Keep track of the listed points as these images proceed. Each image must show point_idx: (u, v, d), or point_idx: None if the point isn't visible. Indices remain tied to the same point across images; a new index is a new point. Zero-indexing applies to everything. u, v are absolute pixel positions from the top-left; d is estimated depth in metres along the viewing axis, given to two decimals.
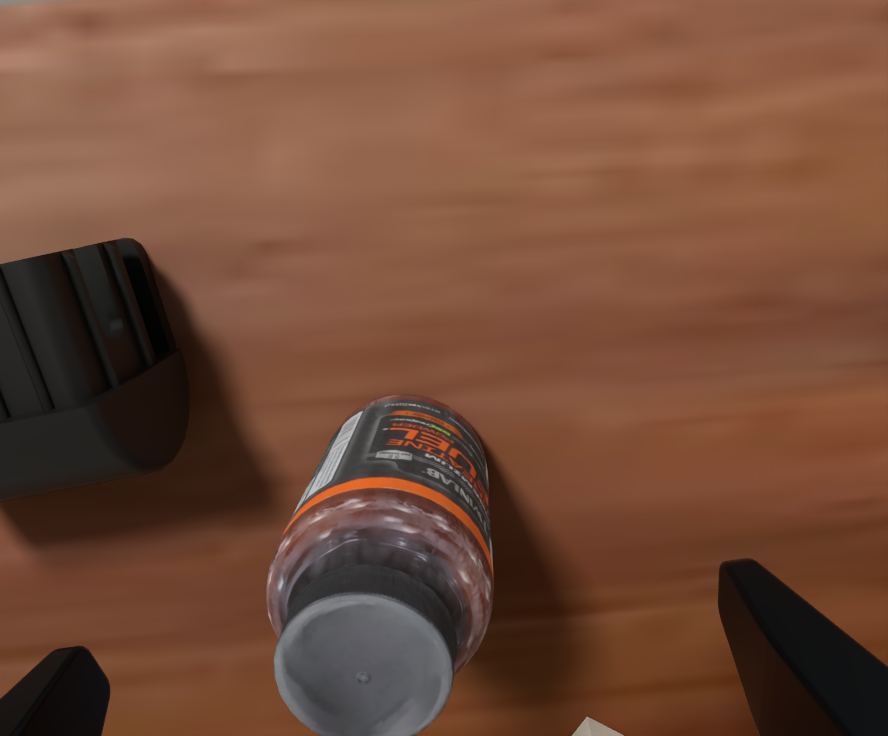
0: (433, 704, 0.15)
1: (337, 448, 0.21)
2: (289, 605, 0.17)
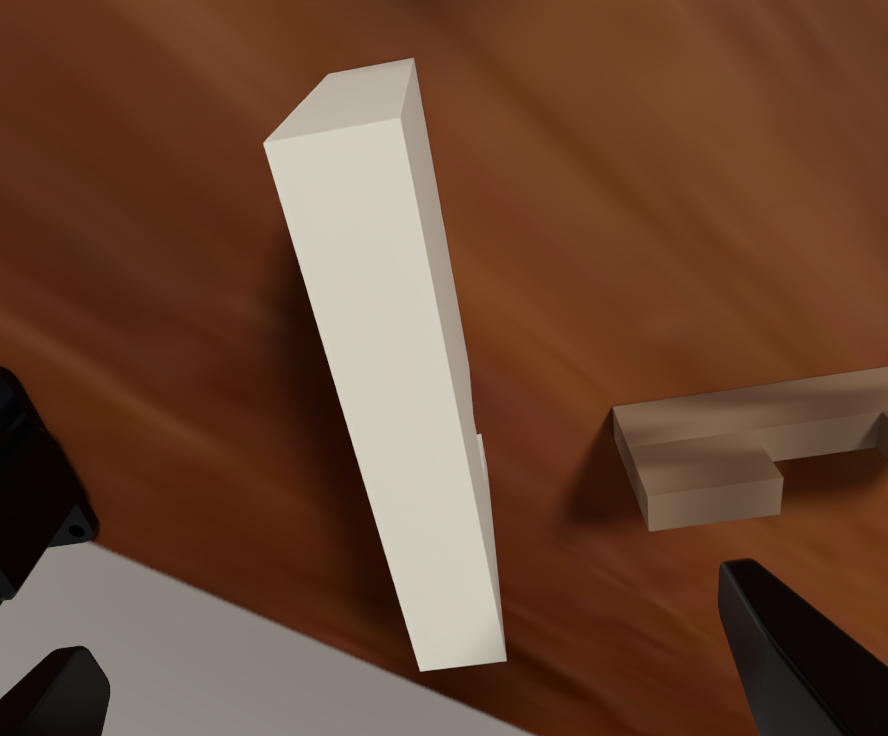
0: None
1: None
2: None
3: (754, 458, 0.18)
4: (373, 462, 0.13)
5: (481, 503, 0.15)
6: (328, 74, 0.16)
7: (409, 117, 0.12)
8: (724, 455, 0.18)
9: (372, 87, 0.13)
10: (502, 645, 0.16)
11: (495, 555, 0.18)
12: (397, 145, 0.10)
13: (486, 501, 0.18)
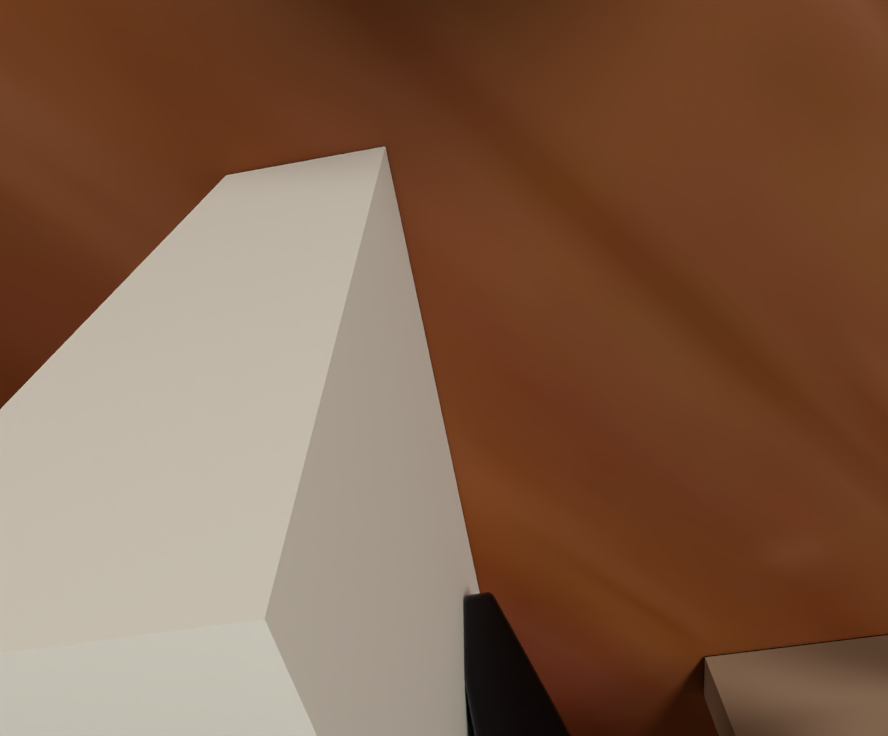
0: None
1: None
2: None
3: None
4: None
5: None
6: (225, 177, 0.08)
7: (347, 400, 0.04)
8: None
9: (274, 263, 0.05)
10: None
11: None
12: (264, 688, 0.03)
13: None
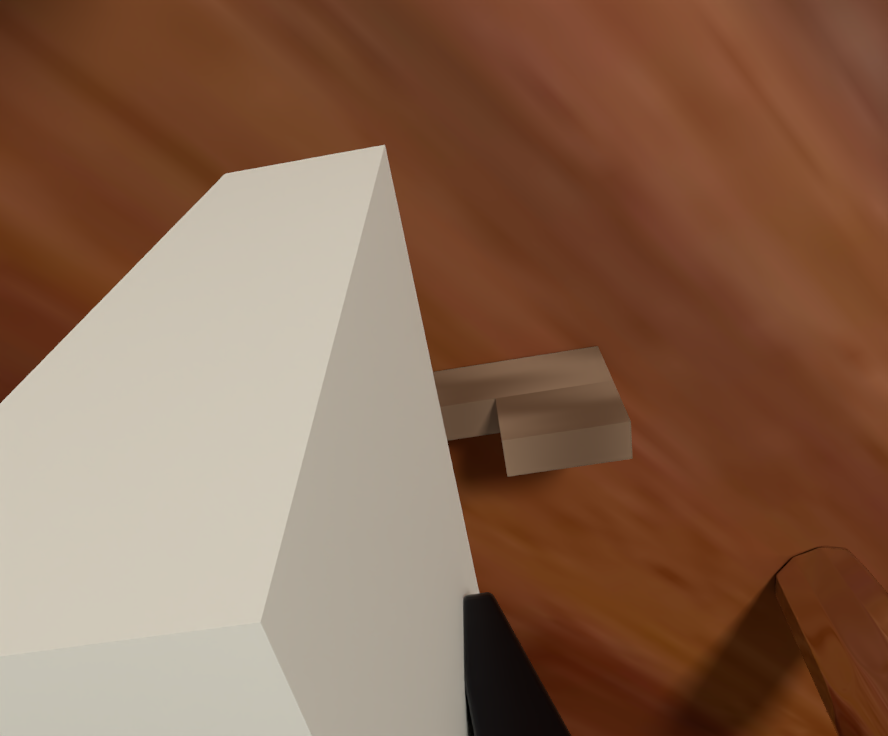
0: None
1: None
2: None
3: None
4: None
5: None
6: (224, 175, 0.08)
7: (346, 400, 0.04)
8: None
9: (272, 262, 0.05)
10: None
11: None
12: (261, 691, 0.03)
13: None
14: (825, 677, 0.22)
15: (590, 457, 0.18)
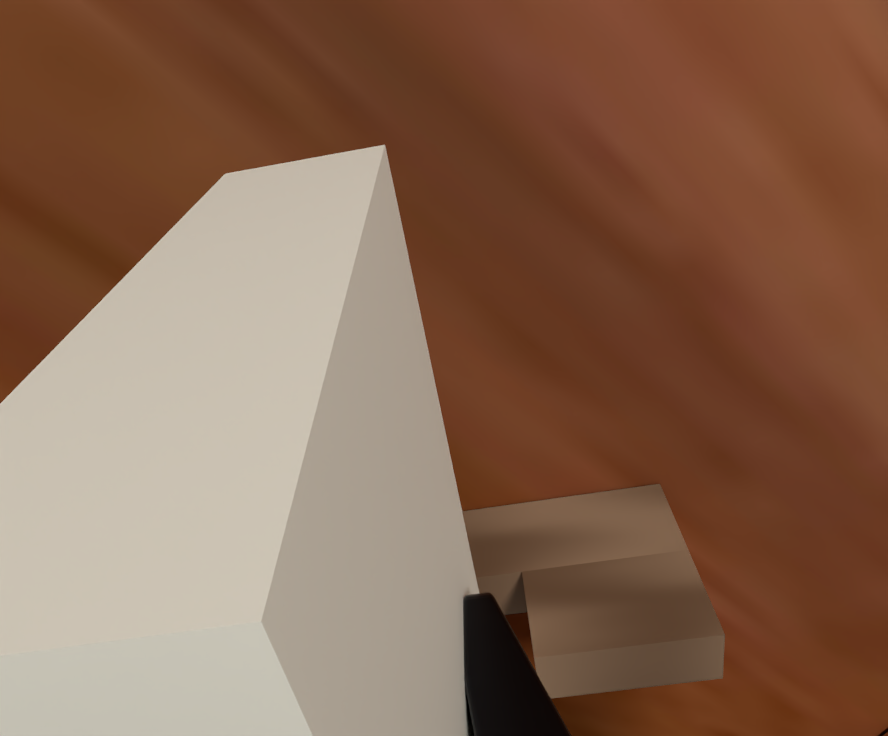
0: None
1: None
2: None
3: None
4: None
5: None
6: (224, 175, 0.08)
7: (346, 400, 0.04)
8: None
9: (272, 261, 0.05)
10: None
11: None
12: (258, 691, 0.03)
13: None
14: None
15: (662, 676, 0.13)
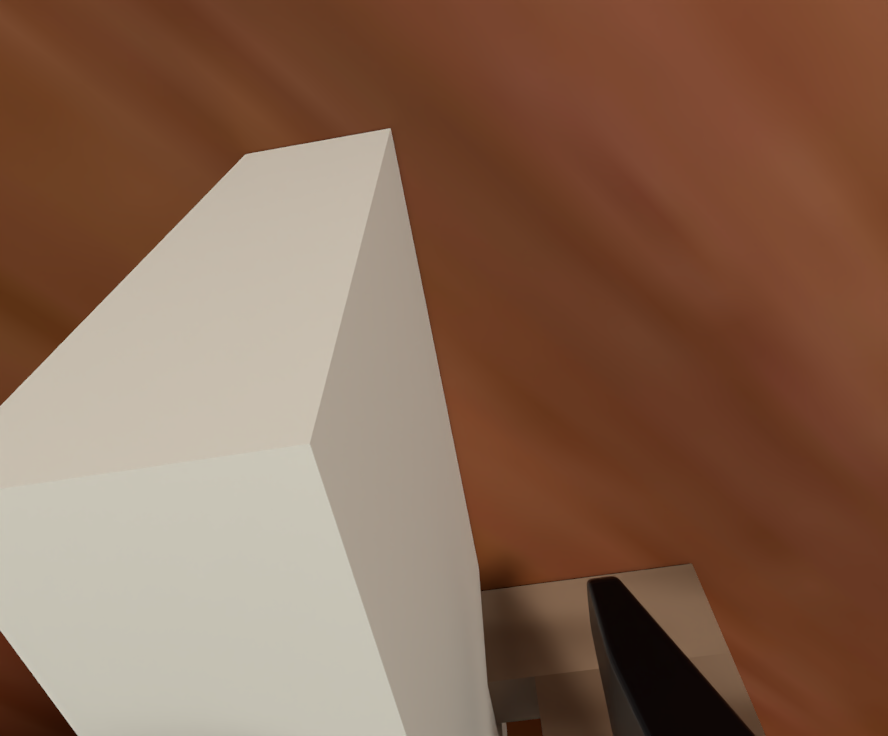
0: None
1: None
2: None
3: None
4: None
5: None
6: (245, 156, 0.09)
7: (363, 325, 0.05)
8: None
9: (296, 221, 0.06)
10: None
11: None
12: (306, 505, 0.03)
13: None
14: None
15: None
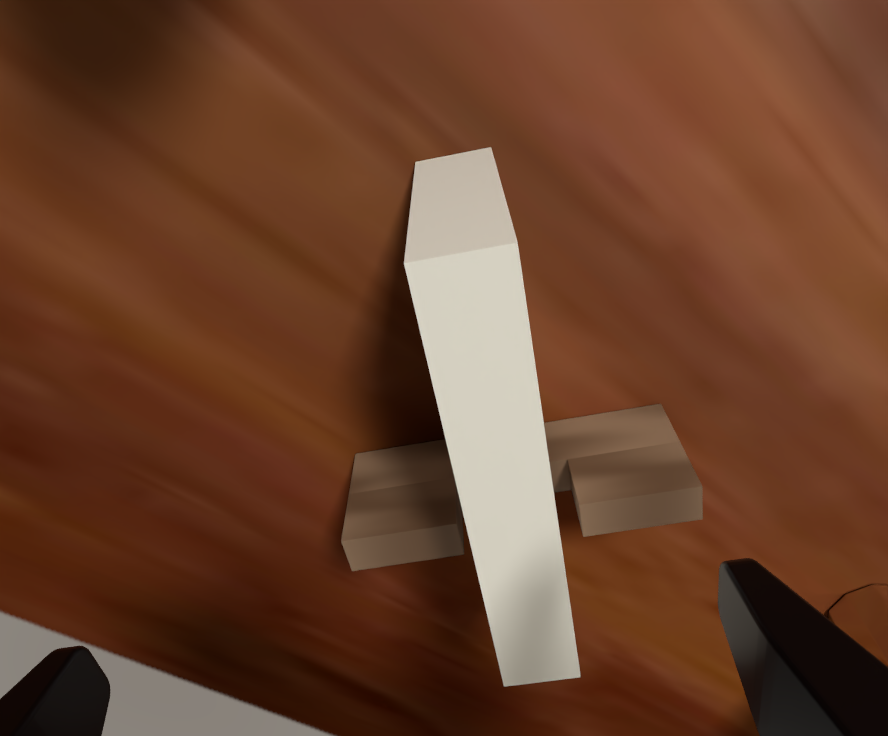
0: None
1: None
2: None
3: (443, 504, 0.20)
4: (475, 511, 0.15)
5: None
6: (415, 162, 0.18)
7: None
8: (420, 502, 0.20)
9: (470, 190, 0.15)
10: (577, 663, 0.18)
11: None
12: (513, 263, 0.12)
13: None
14: None
15: (662, 518, 0.19)
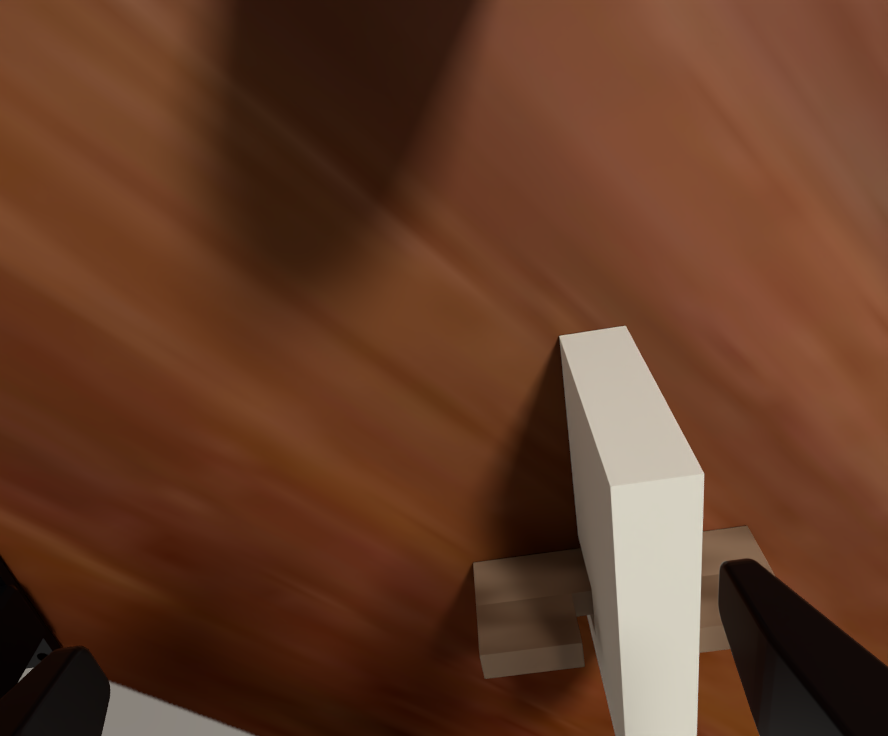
0: None
1: None
2: None
3: (566, 622, 0.23)
4: (631, 659, 0.18)
5: None
6: (560, 337, 0.21)
7: None
8: (545, 618, 0.23)
9: (631, 390, 0.18)
10: None
11: None
12: (698, 487, 0.15)
13: None
14: None
15: None
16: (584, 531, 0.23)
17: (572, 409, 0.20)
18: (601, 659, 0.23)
